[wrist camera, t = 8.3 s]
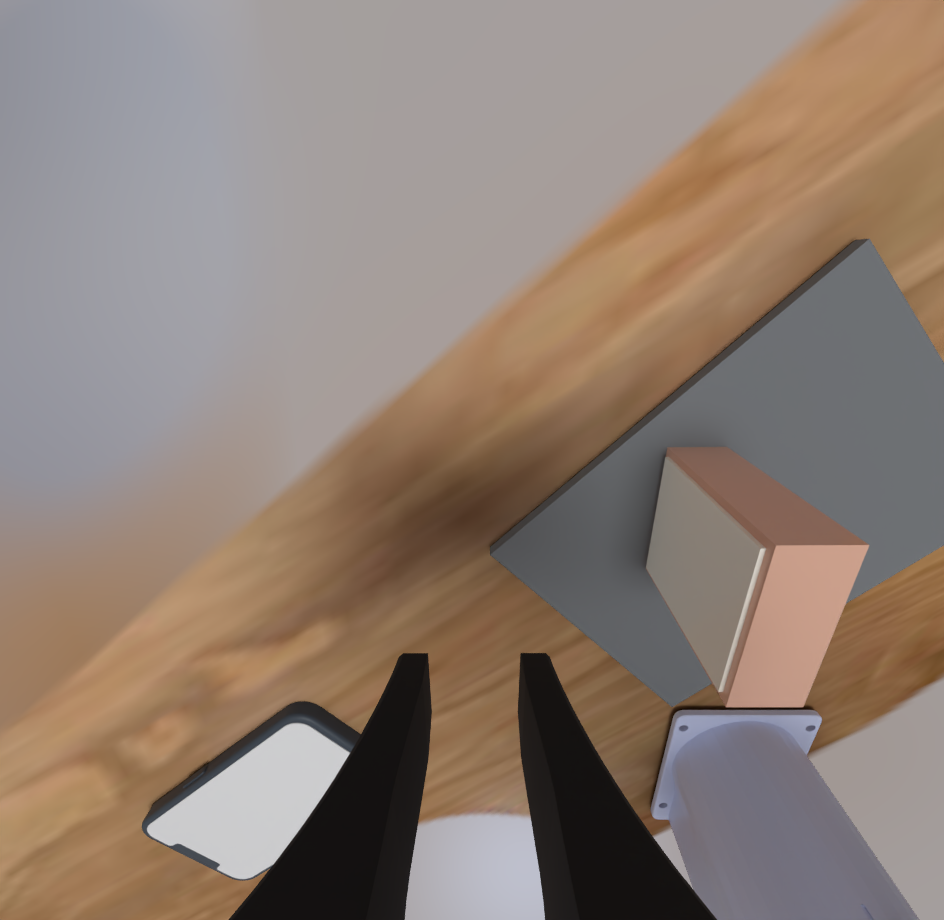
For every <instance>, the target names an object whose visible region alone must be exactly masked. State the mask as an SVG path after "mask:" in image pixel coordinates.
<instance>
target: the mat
mask: <svg viewBox="0 0 944 920" xmlns="http://www.w3.org/2000/svg"><path fill="white" fill-rule="evenodd" d="M667 447H728V448H729V449H731V450H732V451H734V452H735V453H736V454H738V455H739V456H741V457H742V458H744V459H745V460H747V461H748V462H749V463H751V464H752V465H754V466H755V467H757V468H758V469H760V470H761V471H763V472H764V473H765V474H767V475H768V476H770V477H771V478H773V479H774V480H776V481H777V482H779V483H780V484H781V485H783V486H784V487H786V488H787V489H789V490H790V491H792V492H793V493H795V494H796V495H797V496H799V497H800V498H802V499H803V500H805V501H806V502H808V503H809V504H810V505H812V506H813V507H815V508H816V509H818V510H819V511H821V512H822V513H824V514H825V515H826V516H828V517H829V518H831V519H832V520H834V521H835V522H837V523H838V524H840V525H841V526H842V527H844V528H845V529H847V530H848V531H850V532H851V533H853V534H854V535H856V536H857V537H858V538H860V539H861V540H863V541H864V542H866V543H867V544H869V548H868V550H867V552H866V555H865V557H864V560H863V562H862V565H861V567H860V570H859V572H858V575H857V577H856V579H855V582H854V584H853V587H852V589H851V592H850V594H849V597H848V599H847V601H846V603H848V602H849V601H851V600H853V599H854V598H856V597H858V596H859V595H861V594H863V593H864V592H866V591H868V590H869V589H871V588H873V587H874V586H876V585H878V584H880V583H881V582H883V581H885V580H886V579H888V578H890V577H891V576H893V575H895V574H896V573H898V572H900V571H901V570H903V569H905V568H906V567H908V566H910V565H911V564H913V563H915V562H916V561H918V560H920V559H921V558H923V557H925V556H926V555H928V554H930V553H932V552H933V551H935V550H937V549H938V548H940V547H942V546H943V545H944V362H943V361H942V359H941V357H940V356H939V354H938V352H937V351H936V349H935V347H934V346H933V344H932V342H931V341H930V339H929V337H928V336H927V334H926V332H925V331H924V329H923V327H922V326H921V324H920V322H919V321H918V319H917V317H916V316H915V314H914V312H913V311H912V309H911V307H910V306H909V304H908V302H907V301H906V299H905V297H904V296H903V294H902V292H901V291H900V289H899V287H898V286H897V284H896V282H895V281H894V279H893V277H892V275H891V274H890V272H889V270H888V269H887V267H886V265H885V264H884V262H883V260H882V259H881V257H880V255H879V254H878V252H877V250H876V249H875V247H874V245H873V244H872V242H871V240H870V239H862V240H855V241H854V242H852V243H851V244H850V245H849V246H848V247H846V248H845V249H844V250H843V251H842V252H841V253H839V254H838V255H837V256H836V257H835V258H833V259H832V260H831V261H830V262H829V263H827V264H826V265H825V266H824V267H823V268H822V269H820V270H819V271H818V272H817V273H816V274H814V275H813V276H812V277H811V278H810V279H808V280H807V281H806V282H805V283H804V284H802V285H801V286H800V287H799V288H798V289H797V290H795V291H794V292H793V293H792V294H791V295H789V296H788V297H787V298H786V299H785V300H783V301H782V302H781V303H780V304H779V305H777V306H776V307H775V308H774V309H773V310H772V311H770V312H769V313H768V314H767V315H766V316H764V317H763V318H762V319H761V320H760V321H758V322H757V323H756V324H755V325H754V326H752V327H751V328H750V329H749V330H748V331H747V332H745V333H744V334H743V335H742V336H741V337H739V338H738V339H737V340H736V341H735V342H733V343H732V344H731V345H730V346H729V347H728V348H726V349H725V350H724V351H723V352H722V353H720V354H719V355H718V356H717V357H716V358H714V359H713V360H712V361H711V362H710V363H708V364H707V365H706V366H705V367H704V368H703V369H701V370H700V371H699V372H698V373H697V374H695V375H694V376H693V377H692V378H691V379H689V380H688V381H687V382H686V383H685V384H683V385H682V386H681V387H680V388H679V389H678V390H676V391H675V392H674V393H673V394H672V395H670V396H669V397H668V398H667V399H666V400H664V401H663V402H662V403H661V404H660V405H658V406H657V407H656V408H655V409H654V410H653V411H651V412H650V413H649V414H648V415H647V416H645V417H644V418H643V419H642V420H641V421H639V422H638V423H637V424H636V425H635V426H634V427H632V428H631V429H630V430H629V431H628V432H626V433H625V434H624V435H623V436H622V437H620V438H619V439H618V440H617V441H616V442H614V443H613V444H612V445H611V446H610V447H609V448H607V449H606V450H605V451H604V452H603V453H601V454H600V455H599V456H598V457H597V458H595V459H594V460H593V461H592V462H591V463H589V464H588V465H587V466H586V467H585V468H584V469H582V470H581V471H580V472H579V473H578V474H576V475H575V476H574V477H573V478H572V479H570V480H569V481H568V482H567V483H566V484H564V485H563V486H562V487H561V488H560V489H559V490H557V491H556V492H555V493H554V494H553V495H551V496H550V497H549V498H548V499H547V500H545V501H544V502H543V503H542V504H541V505H539V506H538V507H537V508H536V509H535V510H534V511H532V512H531V513H530V514H529V515H528V516H526V517H525V518H524V519H523V520H522V521H520V522H519V523H518V524H517V525H516V526H515V527H513V528H512V529H511V530H510V531H509V532H507V533H506V534H505V535H504V536H503V537H501V538H500V539H499V540H498V541H497V542H495V543H494V544H493V545H492V546H491V547H490V555H491V556H492V557H493V558H495V559H496V560H497V561H498V562H499V563H501V564H502V565H503V566H504V567H505V568H507V569H508V570H509V571H510V572H511V573H513V574H514V575H515V576H516V577H517V578H519V579H520V580H521V581H522V582H523V583H524V584H526V585H527V586H528V587H529V588H530V589H532V590H533V591H534V592H535V593H536V594H538V595H539V596H540V597H541V598H542V599H544V600H545V601H546V602H547V603H548V604H550V605H551V606H552V607H553V608H554V609H556V610H557V611H558V612H559V613H560V614H561V615H563V616H564V617H565V618H566V619H567V620H569V621H570V622H571V623H572V624H573V625H575V626H576V627H577V628H578V629H579V630H581V631H582V632H583V633H584V634H585V635H587V636H588V637H589V638H590V639H591V640H593V641H594V642H595V643H596V644H597V645H599V646H600V647H601V648H602V649H603V650H604V651H606V652H607V653H608V654H609V655H610V656H612V657H613V658H614V659H615V660H616V661H618V662H619V663H620V664H621V665H622V666H624V667H625V668H626V669H627V670H628V671H630V672H631V673H632V674H633V675H634V676H636V677H637V678H638V679H639V680H640V681H641V682H643V683H644V684H645V685H646V686H647V687H649V688H650V689H651V690H652V691H653V692H655V693H656V694H657V695H658V696H659V697H661V698H662V699H663V700H664V701H665V702H667V703H668V704H669V705H670V706H671V707H673V706H675V705H677V704H678V703H680V702H682V701H683V700H685V699H687V698H688V697H690V696H692V695H693V694H695V693H697V692H698V691H700V690H702V689H703V688H705V687H707V686H708V685H710V684H712V682H711V681H710V679H709V677H708V675H707V674H706V672H705V670H704V668H703V667H702V665H701V663H700V662H699V660H698V658H697V656H696V655H695V653H694V651H693V649H692V648H691V646H690V644H689V642H688V641H687V639H686V637H685V636H684V634H683V632H682V630H681V629H680V627H679V625H678V623H677V622H676V620H675V618H674V617H673V615H672V613H671V611H670V610H669V608H668V606H667V604H666V603H665V601H664V599H663V598H662V596H661V594H660V592H659V591H658V589H657V587H656V585H655V584H654V582H653V580H652V578H651V577H650V575H649V573H648V572H647V570H646V564H647V558H648V553H649V547H650V541H651V536H652V530H653V524H654V519H655V513H656V507H657V502H658V496H659V490H660V485H661V479H662V473H663V468H664V462H665V457H666V452H667Z"/></svg>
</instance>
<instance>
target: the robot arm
mask: <svg viewBox="0 0 944 920" xmlns="http://www.w3.org/2000/svg"><path fill="white" fill-rule="evenodd" d="M431 714H432V709H431V694H430V678H429V663H428V653H403V654H402V655H401V656H400V657H399V658H398V661H397V664H396V666H395V668H394V671H393V673H392V675H391V678H390V680H389V682H388V684H387V686H386V688H385V690H384V692H383V694H382V696H381V698H380V700H379V702H378V704H377V706H376V708H375V710H374V712H373V714H372V715H371V717H370V719H369V721H368V723H367V725H366V726H365V728H364V730H363V732H362V734H361V736H360V737H359V739H358V741H357V742H356V744H355V746H354V747H353V749H352V751H351V752H350V754H349V756H348V757H347V759H346V760H345V762H344V764H343V765H342V767H341V769H340V770H339V772H338V774H337V775H336V777H335V778H334V780H333V781H332V783H331V785H330V786H329V788H328V789H327V791H326V792H325V794H324V795H323V797H322V798H321V800H320V801H319V803H318V804H317V806H316V807H315V808H314V810H313V811H312V813H311V814H310V816H309V817H308V818H307V820H306V821H305V823H304V824H303V825H302V827H301V828H300V830H299V831H298V832H297V834H296V835H295V837H294V838H293V839H292V840H291V842H290V843H289V844H288V846H287V847H286V848H285V850H284V851H283V852H282V854H281V855H280V856H279V858H278V859H277V860H276V862H275V863H274V864H273V866H272V867H271V868H270V870H269V871H268V872H267V873H266V875H265V876H264V877H263V879H262V880H261V881H260V882H259V884H258V885H257V886H256V887H255V889H254V890H253V891H252V892H251V894H250V895H249V896H248V897H247V898H246V900H245V901H244V902H243V903H242V904H241V906H240V907H239V908H238V909H237V910H236V911H235V913H234V914H233V915H232V916H231V917H230V919H229V920H404V919H405V909H406V897H407V891H408V883H409V876H410V868H411V863H412V857H413V850H414V844H415V837H416V832H417V826H418V820H419V813H420V807H421V801H422V795H423V789H424V782H425V776H426V770H427V763H428V756H429V743H430V729H431ZM518 719H519V733H520V747H521V759H522V765H523V772H524V778H525V784H526V790H527V797H528V803H529V809H530V815H531V821H532V827H533V834H534V840H535V846H536V852H537V858H538V864H539V871H540V878H541V885H542V893H543V900H544V911H545V920H919V918H918V917H917V915H916V914H915V913H914V911H913V910H912V908H911V907H910V905H909V904H908V903H907V901H906V899H905V898H904V897H903V895H902V894H901V892H900V891H899V889H898V888H897V886H896V885H895V884H894V882H893V880H892V879H891V878H890V876H889V875H888V873H887V872H886V870H885V869H884V867H883V866H882V864H881V863H880V862H879V860H878V859H877V857H876V856H875V854H874V853H873V851H872V850H871V848H870V847H869V846H868V844H867V843H866V841H865V840H864V838H863V837H862V835H861V834H860V832H859V831H858V830H857V828H856V827H855V825H854V824H853V822H852V821H851V819H850V818H849V816H848V815H847V814H846V812H845V811H844V809H843V808H842V806H841V805H840V803H839V802H838V801H837V799H836V798H835V796H834V795H833V793H832V792H831V790H830V789H829V787H828V786H827V785H826V783H825V782H824V780H823V779H822V777H821V776H820V775H819V773H818V772H817V770H816V769H815V767H814V766H813V764H812V763H811V761H810V760H809V758H808V757H807V754H808V751H809V749H810V747H811V745H812V742H813V740H814V738H815V736H816V733H817V731H818V729H819V727H820V724H821V722H822V718H821V716H820V715H819V714H818V713H817V712H816V711H814V710H680V711H677V712H676V713H675V714H674V716H673V720H672V724H671V728H670V732H669V736H668V740H667V744H666V748H665V752H664V756H663V760H662V764H661V769H660V773H659V777H658V781H657V785H656V789H655V793H654V797H653V801H652V805H651V813H652V816H653V817H654V818H655V819H659V820H669V822H670V824H671V827H672V830H673V833H674V836H675V838H676V841H677V844H678V847H679V850H680V853H681V856H682V858H683V861H684V864H685V867H686V870H687V872H688V875H689V878H690V881H691V884H692V887H693V889H694V890H693V889H692V888H691V886H690V885H689V884H688V883H687V881H686V880H685V879H684V878H683V877H682V875H681V874H680V873H679V872H678V870H677V869H676V868H675V866H674V865H673V864H672V862H671V861H670V860H669V858H668V857H667V856H666V854H665V853H664V851H662V849H661V847H660V846H659V845H658V843H657V842H656V841H655V839H654V838H653V837H652V835H651V834H650V832H649V831H648V830H647V828H646V827H645V825H644V824H643V822H642V821H641V820H640V818H639V817H638V815H637V814H636V812H635V811H634V810H633V808H632V807H631V805H630V804H629V802H628V801H627V799H626V798H625V796H624V795H623V793H622V791H621V790H620V788H619V787H618V785H617V784H616V782H615V781H614V779H613V777H612V776H611V774H610V773H609V771H608V769H607V768H606V766H605V765H604V763H603V761H602V760H601V758H600V756H599V755H598V753H597V751H596V750H595V748H594V746H593V744H592V743H591V741H590V739H589V737H588V735H587V734H586V732H585V730H584V728H583V726H582V725H581V723H580V721H579V719H578V717H577V716H576V714H575V712H574V710H573V708H572V706H571V704H570V702H569V700H568V698H567V696H566V694H565V692H564V690H563V688H562V685H561V683H560V681H559V679H558V677H557V674H556V672H555V669H554V667H553V665H552V662H551V659H550V657H549V656H548V655H547V654H546V653H521V656H520V678H519V700H518Z"/></svg>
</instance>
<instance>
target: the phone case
mask: <svg viewBox="0 0 944 920" xmlns="http://www.w3.org/2000/svg"><path fill="white" fill-rule="evenodd" d="M360 736H361V734H359V733H358V732H356V731H355V730H354V729H352V728H351V727H349V726H348V725H346V724H345V723H343V722H342V721H341V720H339V719H338V718H336V717H335V716H333V715H332V714H330V713H329V712H328V711H326V710H325V709H323V708H322V707H320V706H318V705H316V704H314V703H310V702H295V703H292V704H290V705H288V706H287V707H285V708H284V709H282V710H281V711H280V712H278V713H277V714H276V715H274V716H273V717H271V718H270V719H269V720H267V721H266V722H264V723H263V724H262V725H260V726H259V727H258V728H256V729H255V730H253V731H252V732H251V733H249V734H248V735H246V736H245V737H244V738H242V739H241V740H240V741H238V742H237V743H235V744H234V745H233V746H231V747H230V748H229V749H227V750H226V751H224V752H223V753H222V754H220V755H219V756H218V757H216V758H215V759H214V760H212V761H211V762H209V763H208V764H207V765H205V766H204V767H203V768H201V769H200V770H198V771H197V772H196V773H194V774H193V775H192V776H190V777H189V778H188V779H186V780H185V781H184V782H182V783H181V784H180V785H178V786H177V787H176V788H174V789H173V790H171V791H170V792H169V793H167V794H166V795H165V796H163V797H162V798H161V799H159V800H158V801H157V802H155V803H154V804H153V806H152V807H151V809H150V811H149V812H148V814H147V816H146V817H145V819H144V821H143V823H142V830H143V832H144V833H145V834H146V835H147V836H148V837H149V838H151V839H153V840H155V841H157V842H159V843H161V844H163V845H165V846H167V847H169V848H171V849H173V850H175V851H177V852H179V853H181V854H183V855H185V856H187V857H189V858H191V859H193V860H195V861H197V862H199V863H201V864H203V865H205V866H207V867H209V868H211V869H213V870H215V871H217V872H219V873H221V874H223V875H225V876H227V877H229V878H232V879H235V880H242V881H243V880H250V879H253V878H255V877H257V876H258V875H260V874H262V873H263V872H265V871H267V870H268V869H270V868H271V867H272V866H273V864H274V863H275V862H276V860H277V859H278V858H279V856H280V855H281V854H282V852H283V851H284V850H285V848H286V847H287V846H288V844H289V843H290V842H291V840H292V839H293V838H294V837H295V835H296V834H297V832H298V831H299V830H300V828H301V827H302V825H303V824H304V823H305V821H306V820H307V818H308V817H309V816H310V814H311V813H312V811H313V810H314V808H315V807H316V806H317V804H318V803H319V801H320V800H321V798H322V797H323V795H324V794H325V792H326V791H327V789H328V788H329V786H330V785H331V783H332V781H333V780H334V778H335V777H336V775H337V774H338V772H339V770H340V769H341V767H342V765H343V764H344V762H345V760H346V759H347V757H348V756H349V754H350V752H351V751H352V749H353V747H354V746H355V744H356V742H357V741H358V739H359V737H360Z"/></svg>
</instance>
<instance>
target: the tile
mask: <svg viewBox="0 0 944 920" xmlns="http://www.w3.org/2000/svg"><path fill="white" fill-rule="evenodd" d="M868 548H869V544H867V543H866V542H864V541H863V540H861V539H860V538H858V537H857V536H856V535H854V534H853V533H851V532H850V531H848V530H847V529H845V528H844V527H842V526H841V525H840V524H838V523H837V522H835V521H834V520H832V519H831V518H829V517H828V516H826V515H825V514H824V513H822V512H821V511H819V510H818V509H816V508H815V507H813V506H812V505H810V504H809V503H808V502H806V501H805V500H803V499H802V498H800V497H799V496H797V495H796V494H795V493H793V492H792V491H790V490H789V489H787V488H786V487H784V486H783V485H781V484H780V483H779V482H777V481H776V480H774V479H773V478H771V477H770V476H768V475H767V474H765V473H764V472H763V471H761V470H760V469H758V468H757V467H755V466H754V465H752V464H751V463H749V462H748V461H747V460H745V459H744V458H742V457H741V456H739V455H738V454H736V453H735V452H734V451H732V450H731V449H729V448H728V447H667V452H666V457H665V462H664V468H663V473H662V479H661V485H660V490H659V496H658V502H657V507H656V513H655V519H654V524H653V530H652V536H651V541H650V547H649V553H648V558H647V564H646V570H647V572H648V573H649V575H650V577H651V578H652V580H653V582H654V584H655V585H656V587H657V589H658V591H659V592H660V594H661V596H662V598H663V599H664V601H665V603H666V604H667V606H668V608H669V610H670V611H671V613H672V615H673V617H674V618H675V620H676V622H677V623H678V625H679V627H680V629H681V630H682V632H683V634H684V636H685V637H686V639H687V641H688V642H689V644H690V646H691V648H692V649H693V651H694V653H695V655H696V656H697V658H698V660H699V662H700V663H701V665H702V667H703V668H704V670H705V672H706V674H707V675H708V677H709V679H710V681H711V682H712V684H713V686H714V687H715V689H716V691H717V693H718V694H719V696H720V698H721V700H722V701H723V703H724V705H725V706H726V707H804V704H805V702H806V699H807V697H808V694H809V692H810V689H811V687H812V685H813V682H814V680H815V677H816V675H817V672H818V670H819V667H820V665H821V663H822V660H823V658H824V655H825V653H826V650H827V648H828V645H829V643H830V641H831V638H832V636H833V633H834V631H835V628H836V626H837V623H838V621H839V619H840V616H841V614H842V611H843V609H844V606H845V604H846V601H847V599H848V597H849V594H850V592H851V589H852V587H853V584H854V582H855V579H856V577H857V575H858V572H859V570H860V567H861V565H862V562H863V560H864V557H865V555H866V552H867V550H868Z"/></svg>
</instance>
